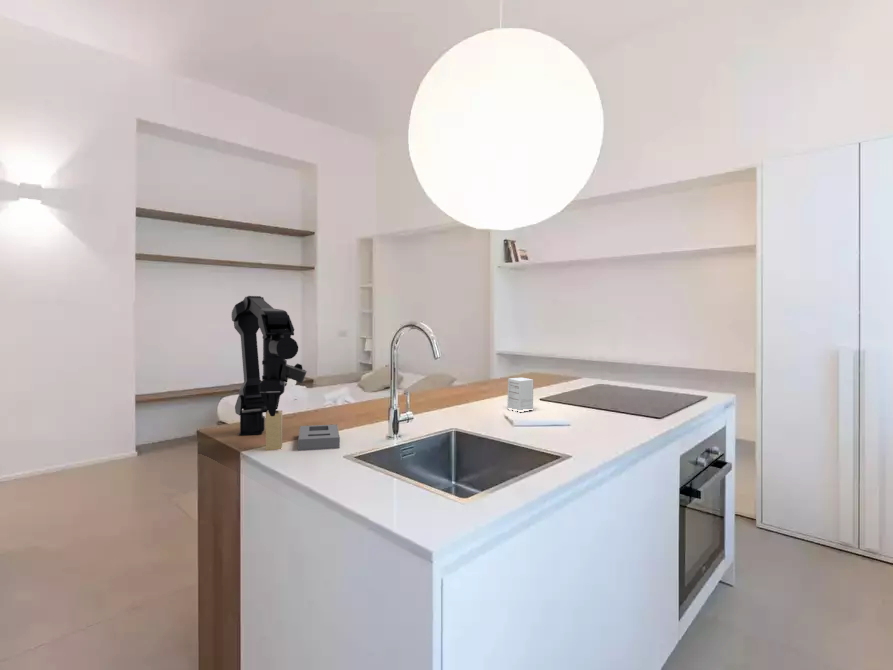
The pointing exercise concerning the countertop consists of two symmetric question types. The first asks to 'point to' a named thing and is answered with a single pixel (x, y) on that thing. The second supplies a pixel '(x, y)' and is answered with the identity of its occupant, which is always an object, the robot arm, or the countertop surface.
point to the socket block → (318, 437)
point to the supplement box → (520, 393)
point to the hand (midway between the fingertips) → (274, 412)
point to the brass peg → (274, 431)
